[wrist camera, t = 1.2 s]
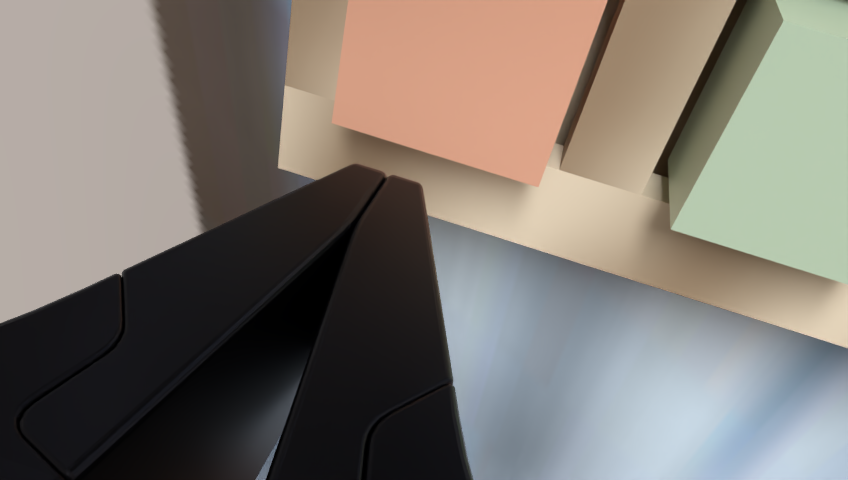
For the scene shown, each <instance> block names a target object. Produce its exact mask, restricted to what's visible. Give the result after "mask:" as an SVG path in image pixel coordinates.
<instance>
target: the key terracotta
mask: <svg viewBox="0 0 848 480" xmlns="http://www.w3.org/2000/svg"><path fill="white" fill-rule="evenodd" d="M607 1H608V0H348V5H347V13H346V20H345V27H344V35H343V42H342V50H341V57H340V65H339V72H338V79H337V87H336V94H335V102H334V109H333V116H332V123H333V124H336V125H339V126H342V127H346V128H349V129H352V130H355V131H359V132H362V133H365V134H368V135H371V136H375V137H378V138H381V139H384V140H387V141H391V142H394V143H397V144H400V145H404V146H407V147H410V148H413V149H416V150H420V151H423V152H426V153H429V154H433V155H436V156H439V157H442V158H445V159H449V160H452V161H455V162H458V163H461V164H465V165H468V166H471V167H474V168H478V169H481V170H484V171H487V172H490V173H494V174H497V175H500V176H503V177H507V178H510V179H513V180H516V181H519V182H523V183H526V184H529V185H532V186H535V187H539V184H540V182H541V179H542V176H543V173H544V171H545V168H546V165H547V163H548V160H549V157H550V155H551V152H552V149H553V147H554V144H555V141H556V138H557V136H558V133H559V130H560V128H561V125H562V122H563V120H564V117H565V114H566V112H567V109H568V106H569V103H570V101H571V98H572V95H573V93H574V90H575V87H576V85H577V82H578V79H579V77H580V74H581V71H582V69H583V66H584V63H585V60H586V58H587V55H588V52H589V50H590V47H591V44H592V42H593V39H594V36H595V34H596V31H597V28H598V25H599V23H600V20H601V17H602V15H603V12H604V9H605V7H606V4H607Z"/></svg>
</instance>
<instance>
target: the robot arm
mask: <svg viewBox="0 0 848 480" xmlns="http://www.w3.org/2000/svg"><path fill="white" fill-rule="evenodd" d="M280 435H281V437H280ZM279 437H280V440H279V443H278V446H277V449H276V452H275V455H274V458H273V461H272V463H271V466H270V469H269V472H268V475H267V478H266V480H473V476H472V473H471V469H470V465H469V462H468V457H467V452H466V447H465V442H464V437H463V432H462V427H461V422H460V417H459V411H458V405H457V399H456V392H455V388H454V386H453V376H452V369H451V363H450V357H449V350H448V344H447V337H446V331H445V325H444V318H443V312H442V306H441V299H440V293H439V287H438V280H437V274H436V267H435V261H434V255H433V248H432V242H431V236H430V229H429V223H428V217H427V210H426V204H425V197H424V191H423V187H422V185H421V184H420V183H419V182H416V181H412V180H409V179H406V178H403V177H399V176H396V175H390V176H388V177H387V176H386V174H385V172H383V171H380V170H377V169H374V168H371V167H368V166H365V165H361V164H358V163H354V164H351V165H348V166H346V167H344V168H342V169H340V170H338V171H335V172H333V173H331V174H329V175H327V176H325V177H323V178H320V179H318V180H316V181H314V182H312V183H310V184H308V185H305V186H303V187H301V188H299V189H297V190H295V191H293V192H290V193H288V194H286V195H284V196H282V197H280V198H278V199H275V200H273V201H271V202H269V203H267V204H265V205H263V206H260V207H258V208H256V209H254V210H252V211H250V212H248V213H245V214H243V215H241V216H239V217H237V218H235V219H233V220H230V221H228V222H226V223H224V224H222V225H220V226H217V227H215V228H213V229H211V230H209V231H207V232H205V233H202V234H200V235H198V236H196V237H194V238H192V239H190V240H188V241H185V242H183V243H181V244H179V245H177V246H175V247H172V248H170V249H168V250H166V251H164V252H162V253H160V254H157V255H155V256H153V257H151V258H149V259H147V260H145V261H142V262H140V263H138V264H136V265H134V266H132V267H130V268H127V269H125V270H124V271H123V272H122V277H121V275H119V274H114V275H112V276H110V277H107V278H106V279H104V280H101V281H99V282H97V283H95V284H92V285H90V286H88V287H86V288H84V289H82V290H79V291H77V292H75V293H73V294H70V295H68V296H66V297H63V298H61V299H59V300H57V301H54V302H52V303H50V304H47V305H45V306H43V307H40V308H38V309H36V310H33V311H31V312H28V313H26V314H23V315H21V316H18V317H15V318H13V319H10V320H8V321H5V322H3V323H0V480H255V479H256V478H257V476H258V474H259V472H260V471H261V469H262V467H263V465H264V464H265V462H266V460H267V458H268V456H269V455H270V453H271V451H272V449H273V448H274V446H275V444H276V442H277V441H278V439H279Z"/></svg>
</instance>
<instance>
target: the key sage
mask: <svg viewBox="0 0 848 480" xmlns="http://www.w3.org/2000/svg"><path fill="white" fill-rule="evenodd" d="M668 177H669V204H670V229H671V230H674V231H677V232H680V233H684V234H687V235H690V236H693V237H697V238H700V239H703V240H706V241H709V242H713V243H716V244H719V245H722V246H725V247H729V248H732V249H735V250H738V251H742V252H745V253H748V254H751V255H754V256H758V257H761V258H764V259H767V260H771V261H774V262H777V263H780V264H783V265H787V266H790V267H793V268H796V269H799V270H803V271H806V272H809V273H812V274H816V275H819V276H822V277H825V278H828V279H832V280H835V281H838V282H841V283H844V284H848V0H747V2H746V4H745V6H744V8H743V10H742V12H741V14H740V16H739V18H738V20H737V22H736V24H735V26H734V28H733V30H732V32H731V34H730V36H729V38H728V40H727V42H726V44H725V46H724V48H723V50H722V52H721V54H720V56H719V58H718V60H717V62H716V64H715V66H714V68H713V70H712V72H711V74H710V76H709V78H708V80H707V82H706V84H705V86H704V88H703V90H702V92H701V94H700V96H699V98H698V100H697V102H696V104H695V106H694V108H693V110H692V112H691V114H690V116H689V118H688V120H687V122H686V124H685V126H684V128H683V130H682V132H681V134H680V136H679V138H678V140H677V142H676V144H675V146H674V148H673V150H672V152H671V154H670V156H669V158H668Z"/></svg>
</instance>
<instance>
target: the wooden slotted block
mask: <svg viewBox="0 0 848 480" xmlns="http://www.w3.org/2000/svg"><path fill="white" fill-rule="evenodd" d="M746 2H747V0H608V1H607V4H606V7H605V9H604V12H603V15H602V17H601V20H600V23H599V25H598V28H597V31H596V34H595V36H594V39H593V42H592V44H591V47H590V50H589V52H588V55H587V58H586V60H585V63H584V66H583V69H582V71H581V74H580V77H579V79H578V82H577V85H576V87H575V90H574V93H573V95H572V98H571V101H570V103H569V106H568V109H567V112H566V114H565V117H564V120H563V122H562V125H561V128H560V130H559V133H558V136H557V138H556V141H555V144H554V147H553V149H552V152H551V155H550V157H549V160H548V163H547V165H546V168H545V171H544V173H543V176H542V179H541V182H540V184H539V187H535V186H532V185H529V184H526V183H523V182H519V181H516V180H513V179H510V178H507V177H503V176H500V175H497V174H494V173H490V172H487V171H484V170H481V169H478V168H474V167H471V166H468V165H465V164H461V163H458V162H455V161H452V160H449V159H445V158H442V157H439V156H436V155H433V154H429V153H426V152H423V151H420V150H416V149H413V148H410V147H407V146H404V145H400V144H397V143H394V142H391V141H387V140H384V139H381V138H378V137H375V136H371V135H368V134H365V133H362V132H359V131H355V130H352V129H349V128H346V127H342V126H339V125H336V124H333V123H332V116H333V109H334V102H335V94H336V87H337V79H338V72H339V65H340V57H341V50H342V42H343V35H344V27H345V20H346V13H347V5H348V0H292V6H291V18H290V30H289V42H288V54H287V66H286V78H285V90H284V102H283V114H282V126H281V138H280V150H279V162H278V168H280V169H284V170H287V171H290V172H293V173H296V174H299V175H302V176H306V177H309V178H312V179H315V180H318V179H320V178H323V177H325V176H327V175H329V174H331V173H333V172H335V171H338V170H340V169H342V168H344V167H346V166H348V165H351V164H354V163H358V164H361V165H365V166H368V167H371V168H374V169H377V170H380V171H383V172H385V174H386V176H387V177H388V176H390V175H396V176H399V177H403V178H406V179H409V180H412V181H416V182H419V183H420V184H421V185H422V187H423V191H424V197H425V204H426V210H427V215H429V216H432V217H435V218H438V219H441V220H445V221H448V222H451V223H454V224H457V225H460V226H463V227H467V228H470V229H473V230H476V231H479V232H482V233H486V234H489V235H492V236H495V237H498V238H501V239H505V240H508V241H511V242H514V243H517V244H520V245H523V246H527V247H530V248H533V249H536V250H539V251H542V252H546V253H549V254H552V255H555V256H558V257H561V258H565V259H568V260H571V261H574V262H577V263H580V264H583V265H587V266H590V267H593V268H596V269H599V270H602V271H606V272H609V273H612V274H615V275H618V276H621V277H624V278H628V279H631V280H634V281H637V282H640V283H643V284H647V285H650V286H653V287H656V288H659V289H662V290H666V291H669V292H672V293H675V294H678V295H681V296H684V297H688V298H691V299H694V300H697V301H700V302H703V303H707V304H710V305H713V306H716V307H719V308H722V309H726V310H729V311H732V312H735V313H738V314H741V315H744V316H748V317H751V318H754V319H757V320H760V321H763V322H767V323H770V324H773V325H776V326H779V327H782V328H786V329H789V330H792V331H795V332H798V333H801V334H804V335H808V336H811V337H814V338H817V339H820V340H823V341H827V342H830V343H833V344H836V345H839V346H842V347H845V348H848V284H844V283H841V282H838V281H835V280H832V279H828V278H825V277H822V276H819V275H816V274H812V273H809V272H806V271H803V270H799V269H796V268H793V267H790V266H787V265H783V264H780V263H777V262H774V261H771V260H767V259H764V258H761V257H758V256H754V255H751V254H748V253H745V252H742V251H738V250H735V249H732V248H729V247H725V246H722V245H719V244H716V243H713V242H709V241H706V240H703V239H700V238H697V237H693V236H690V235H687V234H684V233H680V232H677V231H674V230H671V229H670V204H669V177H668V158H669V156H670V154H671V152H672V150H673V148H674V146H675V144H676V142H677V140H678V138H679V136H680V134H681V132H682V130H683V128H684V126H685V124H686V122H687V120H688V118H689V116H690V114H691V112H692V110H693V108H694V106H695V104H696V102H697V100H698V98H699V96H700V94H701V92H702V90H703V88H704V86H705V84H706V82H707V80H708V78H709V76H710V74H711V72H712V70H713V68H714V66H715V64H716V62H717V60H718V58H719V56H720V54H721V52H722V50H723V48H724V46H725V44H726V42H727V40H728V38H729V36H730V34H731V32H732V30H733V28H734V26H735V24H736V22H737V20H738V18H739V16H740V14H741V12H742V10H743V8H744V6H745V4H746Z"/></svg>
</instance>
